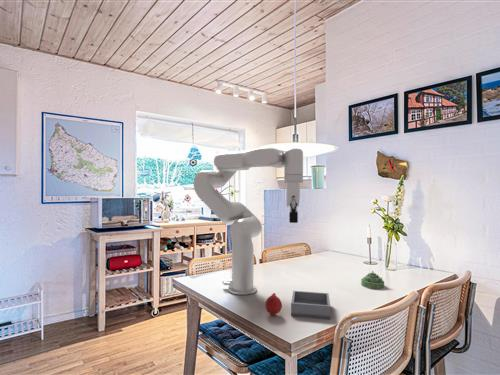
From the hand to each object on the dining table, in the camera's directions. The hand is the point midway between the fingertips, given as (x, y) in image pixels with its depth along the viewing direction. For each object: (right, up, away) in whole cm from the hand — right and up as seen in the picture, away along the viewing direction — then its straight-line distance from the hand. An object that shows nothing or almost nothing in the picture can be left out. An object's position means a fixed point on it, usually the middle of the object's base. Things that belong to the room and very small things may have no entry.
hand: (293, 221), depth 127 cm
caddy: (+5, -32, -11) cm, 34 cm away
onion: (-9, -32, -16) cm, 37 cm away
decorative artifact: (+40, -33, +19) cm, 55 cm away
